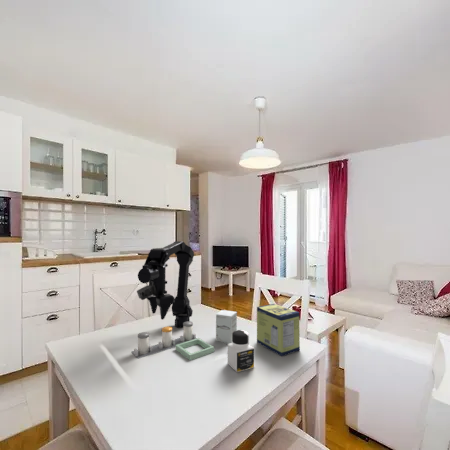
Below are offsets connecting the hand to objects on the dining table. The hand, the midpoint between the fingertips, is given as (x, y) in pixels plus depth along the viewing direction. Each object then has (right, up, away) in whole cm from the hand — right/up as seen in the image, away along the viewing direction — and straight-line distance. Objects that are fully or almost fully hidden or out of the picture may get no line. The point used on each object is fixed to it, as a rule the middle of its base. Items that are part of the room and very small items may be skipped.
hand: (158, 316), depth 108 cm
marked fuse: (+4, -12, -1) cm, 12 cm away
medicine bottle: (+34, -13, -15) cm, 39 cm away
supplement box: (+29, -13, +6) cm, 32 cm away
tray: (+16, -13, -6) cm, 21 cm away
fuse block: (+4, -13, -1) cm, 13 cm away
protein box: (+50, -13, +1) cm, 52 cm away
